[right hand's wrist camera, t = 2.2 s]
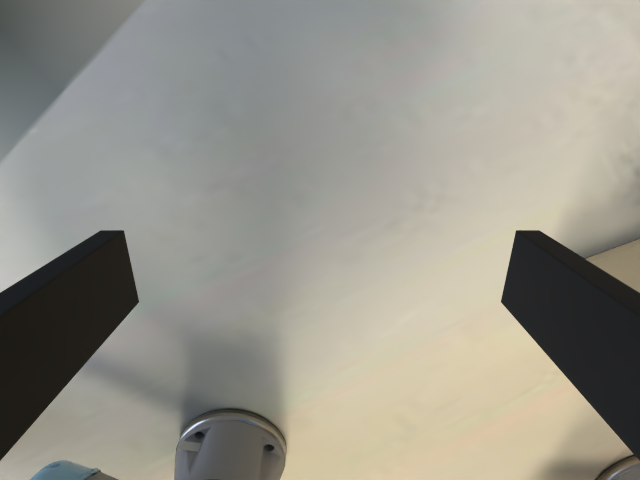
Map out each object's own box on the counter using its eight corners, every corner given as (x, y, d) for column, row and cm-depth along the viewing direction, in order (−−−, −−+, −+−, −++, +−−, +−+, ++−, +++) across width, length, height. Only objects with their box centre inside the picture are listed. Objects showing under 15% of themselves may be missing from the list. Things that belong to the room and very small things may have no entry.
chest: (546, 340, 46) (603, 402, 36) (529, 278, 42) (587, 329, 33) (676, 296, 43) (771, 351, 34) (668, 227, 40) (772, 267, 31)
